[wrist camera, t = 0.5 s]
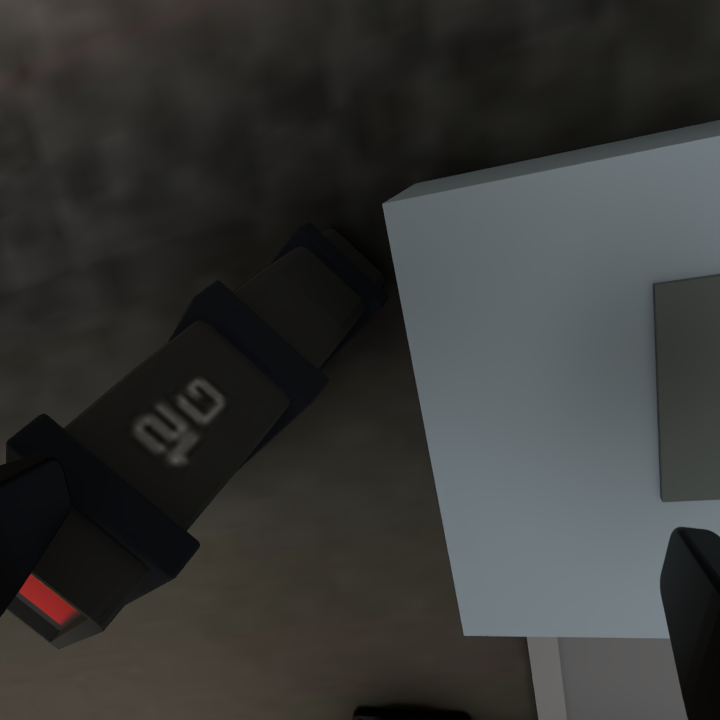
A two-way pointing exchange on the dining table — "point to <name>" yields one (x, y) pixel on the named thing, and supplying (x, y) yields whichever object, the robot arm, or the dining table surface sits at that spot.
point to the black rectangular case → (187, 429)
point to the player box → (568, 375)
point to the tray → (605, 679)
